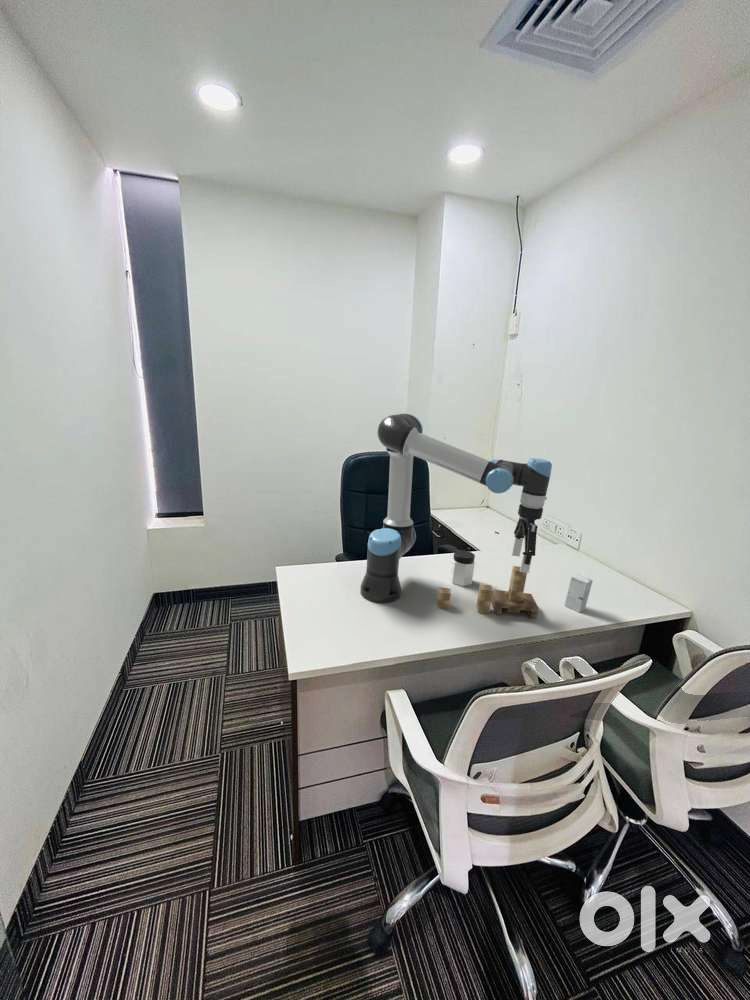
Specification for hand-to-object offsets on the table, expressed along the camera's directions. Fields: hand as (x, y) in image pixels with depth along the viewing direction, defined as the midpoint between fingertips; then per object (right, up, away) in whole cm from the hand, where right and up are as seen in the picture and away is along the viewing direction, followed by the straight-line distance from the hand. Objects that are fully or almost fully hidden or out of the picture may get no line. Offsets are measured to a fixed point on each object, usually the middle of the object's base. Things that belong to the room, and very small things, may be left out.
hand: (519, 563), depth 144 cm
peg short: (-26, -16, +4) cm, 31 cm away
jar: (-16, -11, +24) cm, 30 cm away
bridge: (-1, -17, +5) cm, 18 cm away
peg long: (-1, -17, +5) cm, 18 cm away
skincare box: (+24, -18, +9) cm, 31 cm away
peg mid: (-12, -17, +3) cm, 21 cm away
